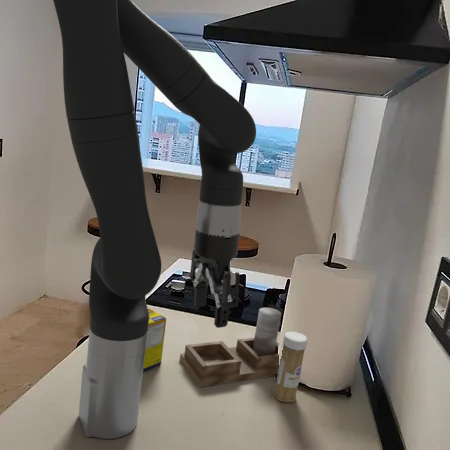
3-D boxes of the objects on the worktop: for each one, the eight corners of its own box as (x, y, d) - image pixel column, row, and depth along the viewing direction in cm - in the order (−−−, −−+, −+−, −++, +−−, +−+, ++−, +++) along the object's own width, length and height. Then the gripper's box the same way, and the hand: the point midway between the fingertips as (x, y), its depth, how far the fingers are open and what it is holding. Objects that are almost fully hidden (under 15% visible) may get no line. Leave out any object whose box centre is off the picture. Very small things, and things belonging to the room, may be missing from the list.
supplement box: (143, 353, 102) (148, 307, 100) (161, 364, 98) (167, 317, 96) (121, 361, 98) (126, 313, 95) (140, 373, 94) (145, 324, 92)
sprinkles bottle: (290, 406, 90) (303, 343, 87) (269, 397, 92) (281, 335, 90) (299, 396, 94) (311, 336, 91) (278, 387, 96) (289, 328, 93)
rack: (200, 387, 92) (208, 329, 90) (179, 359, 102) (186, 306, 99) (292, 372, 103) (302, 321, 101) (266, 348, 113) (275, 301, 110)
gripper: (181, 218, 83) (175, 302, 86) (216, 240, 70) (207, 337, 74) (218, 217, 86) (211, 298, 90) (258, 238, 74) (248, 331, 78)
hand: (209, 315), depth 82 cm, fingers open, 8 cm apart
